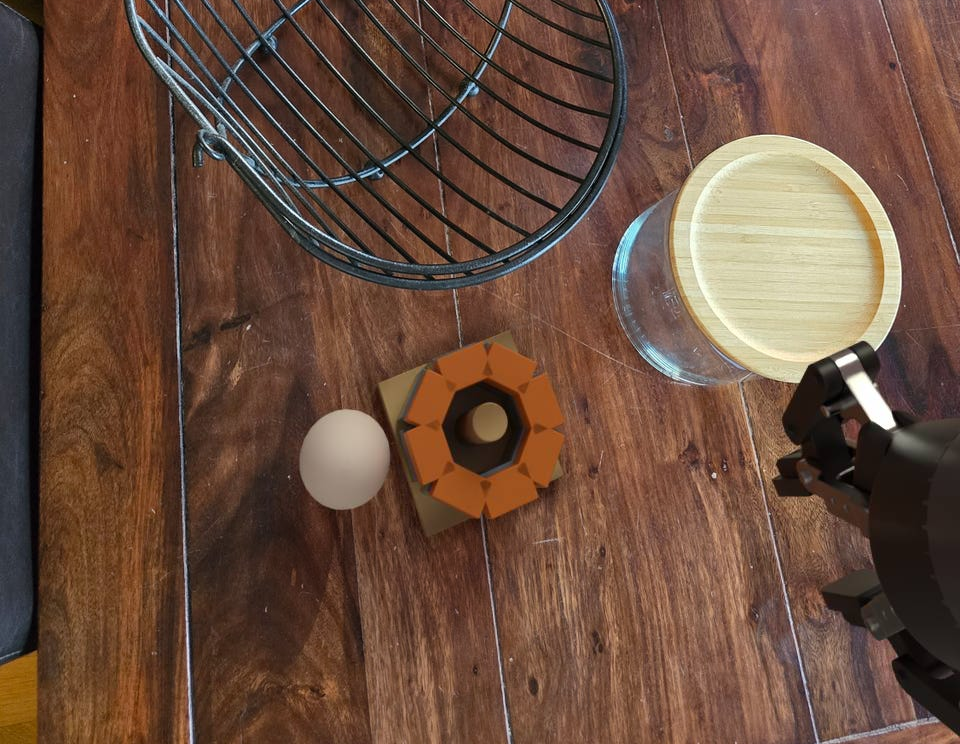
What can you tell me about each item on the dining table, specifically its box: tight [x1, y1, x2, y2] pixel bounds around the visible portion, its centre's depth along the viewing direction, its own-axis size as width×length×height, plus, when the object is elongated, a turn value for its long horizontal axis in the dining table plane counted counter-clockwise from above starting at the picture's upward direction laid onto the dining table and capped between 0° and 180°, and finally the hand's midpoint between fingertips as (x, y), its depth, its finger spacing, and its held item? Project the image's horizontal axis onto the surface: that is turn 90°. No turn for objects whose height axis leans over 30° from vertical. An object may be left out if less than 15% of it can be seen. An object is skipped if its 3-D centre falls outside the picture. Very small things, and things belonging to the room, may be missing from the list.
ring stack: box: [376, 329, 565, 538], centre depth 68 cm, size 9×9×9 cm
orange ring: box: [403, 340, 566, 520], centre depth 66 cm, size 9×9×2 cm
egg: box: [299, 408, 391, 511], centre depth 67 cm, size 5×5×7 cm
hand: (818, 532), depth 49 cm, fingers open, 4 cm apart
